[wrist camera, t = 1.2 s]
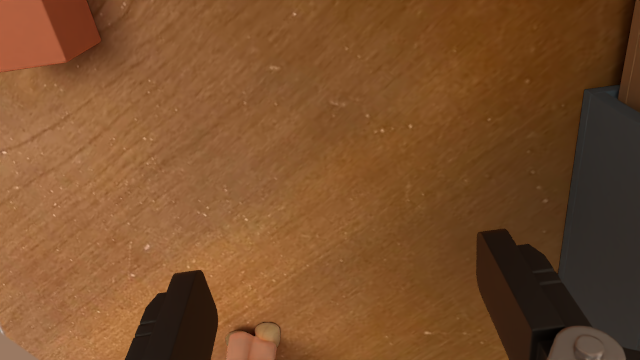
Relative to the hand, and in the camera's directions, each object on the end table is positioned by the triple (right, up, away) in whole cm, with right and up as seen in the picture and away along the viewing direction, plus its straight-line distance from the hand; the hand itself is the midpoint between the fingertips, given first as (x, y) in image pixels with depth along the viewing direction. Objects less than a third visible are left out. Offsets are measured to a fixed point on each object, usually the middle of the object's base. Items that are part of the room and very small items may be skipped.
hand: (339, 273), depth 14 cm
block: (-15, +12, +11) cm, 22 cm away
